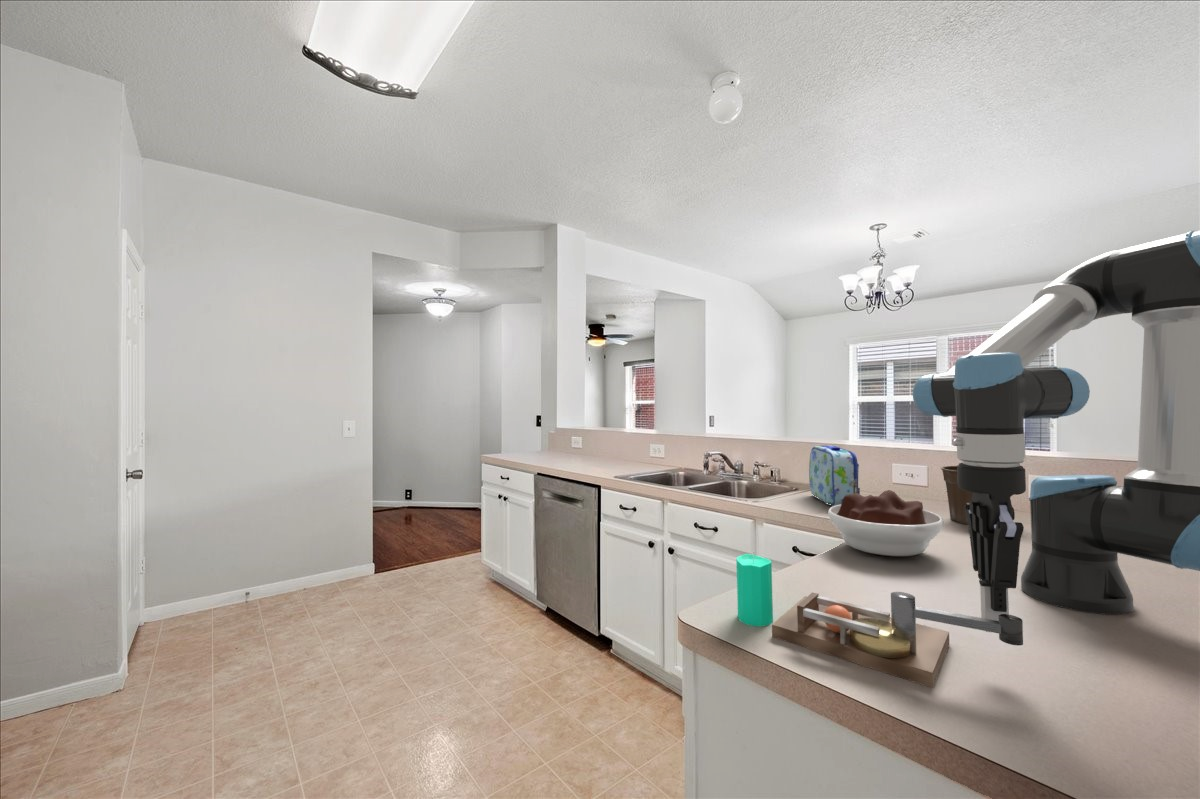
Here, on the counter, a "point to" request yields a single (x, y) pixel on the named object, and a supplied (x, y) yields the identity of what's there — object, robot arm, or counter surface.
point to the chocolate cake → (885, 524)
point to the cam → (901, 630)
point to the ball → (839, 612)
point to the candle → (754, 590)
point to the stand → (812, 632)
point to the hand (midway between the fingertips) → (995, 630)
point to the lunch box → (833, 473)
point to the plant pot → (956, 495)
